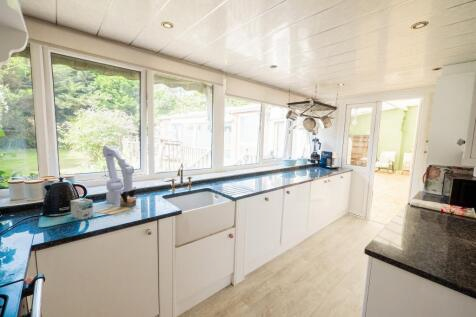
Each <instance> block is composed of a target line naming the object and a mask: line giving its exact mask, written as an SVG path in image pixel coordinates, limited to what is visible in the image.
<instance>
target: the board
mask: <svg viewBox="0 0 476 317" xmlns="http://www.w3.org/2000/svg"><path fill="white" fill-rule="evenodd" d="M134 209H135V208H134V207H125V206H120V205H119V206H118V205H111V206H108V207H105V208H102V209H100V210H97V211H95V212H94V213H96V214H103V215H112V216H120V215H123V214H124V213H127V212H129V211H131V210H134Z"/></svg>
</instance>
